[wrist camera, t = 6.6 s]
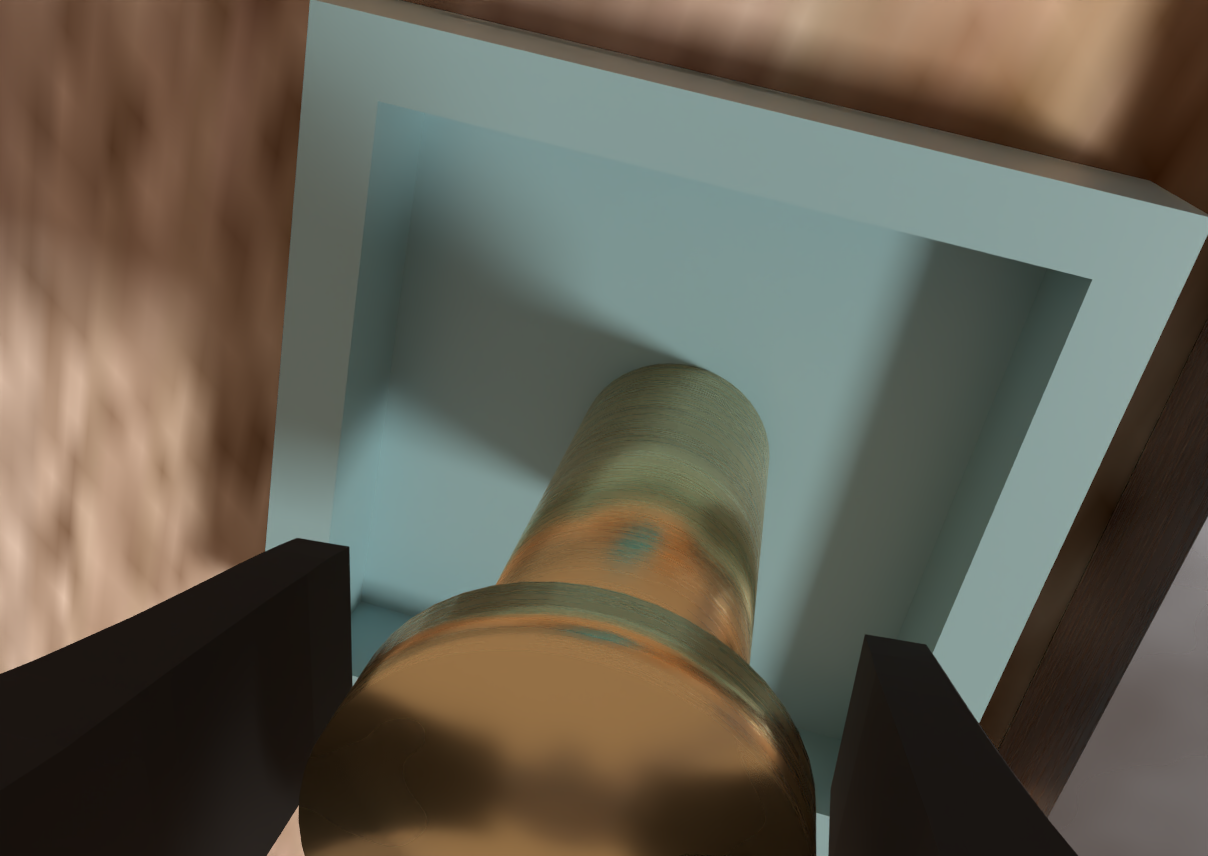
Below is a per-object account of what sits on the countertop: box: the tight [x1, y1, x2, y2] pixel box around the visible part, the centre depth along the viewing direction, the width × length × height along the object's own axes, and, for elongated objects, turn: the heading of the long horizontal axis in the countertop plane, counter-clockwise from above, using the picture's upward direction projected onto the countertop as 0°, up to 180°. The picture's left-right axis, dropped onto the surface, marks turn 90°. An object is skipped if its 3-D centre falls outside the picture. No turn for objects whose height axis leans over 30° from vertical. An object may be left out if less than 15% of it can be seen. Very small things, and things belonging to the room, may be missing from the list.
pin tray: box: [265, 0, 1208, 856], centre depth 16 cm, size 11×11×2 cm
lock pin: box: [299, 363, 816, 856], centre depth 12 cm, size 4×4×8 cm
